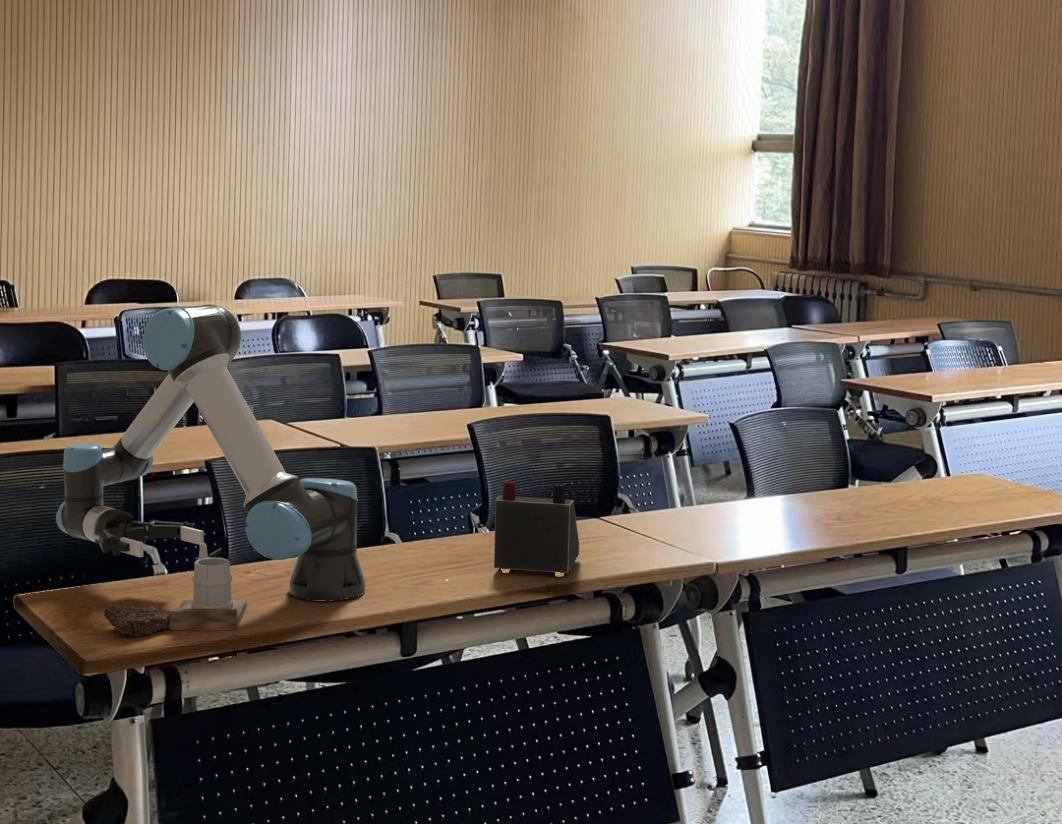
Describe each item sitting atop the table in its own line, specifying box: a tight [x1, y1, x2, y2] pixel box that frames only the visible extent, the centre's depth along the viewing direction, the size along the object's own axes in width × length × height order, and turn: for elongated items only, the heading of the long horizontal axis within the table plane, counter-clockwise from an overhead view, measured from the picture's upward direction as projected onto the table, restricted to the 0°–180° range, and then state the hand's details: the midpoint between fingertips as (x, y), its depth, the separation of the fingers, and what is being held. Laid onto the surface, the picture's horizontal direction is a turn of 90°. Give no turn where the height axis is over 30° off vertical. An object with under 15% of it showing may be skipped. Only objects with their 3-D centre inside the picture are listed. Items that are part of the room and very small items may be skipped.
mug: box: [191, 542, 234, 609], centre depth 258 cm, size 8×12×12 cm, turn 30°
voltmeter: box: [493, 480, 580, 574], centre depth 301 cm, size 16×16×20 cm
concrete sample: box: [103, 604, 169, 638], centre depth 250 cm, size 12×10×5 cm
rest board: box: [168, 599, 248, 631], centre depth 258 cm, size 12×14×4 cm
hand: (172, 543), depth 264 cm, fingers open, 13 cm apart
